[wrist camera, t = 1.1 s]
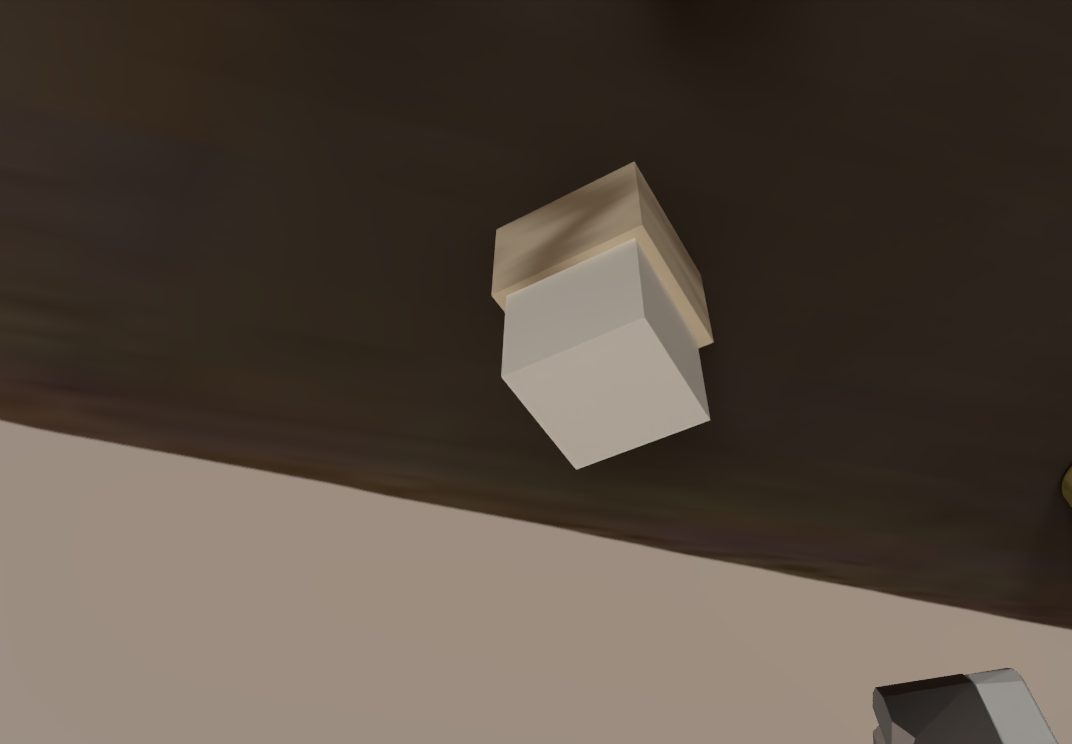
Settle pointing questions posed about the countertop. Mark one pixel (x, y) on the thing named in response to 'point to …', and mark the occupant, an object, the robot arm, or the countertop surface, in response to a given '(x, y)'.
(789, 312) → the countertop surface
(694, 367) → the tower top
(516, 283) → the tower base
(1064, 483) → the vase
